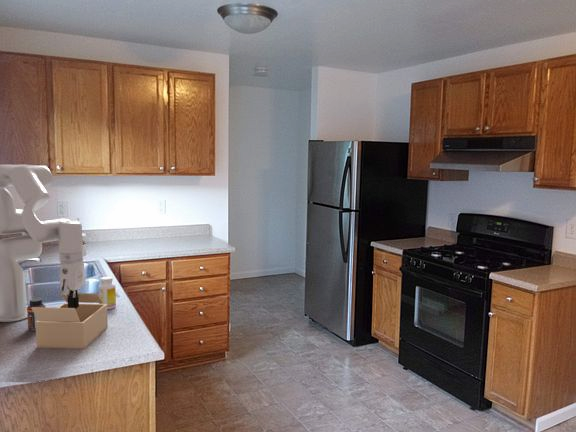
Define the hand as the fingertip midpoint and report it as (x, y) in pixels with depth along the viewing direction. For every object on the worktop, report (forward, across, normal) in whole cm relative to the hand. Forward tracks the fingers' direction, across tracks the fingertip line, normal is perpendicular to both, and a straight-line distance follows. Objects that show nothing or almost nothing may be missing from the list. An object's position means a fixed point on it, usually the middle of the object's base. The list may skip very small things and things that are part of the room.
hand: (73, 307), depth 166 cm
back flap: (-1, +7, 0) cm, 7 cm away
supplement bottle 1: (+11, +7, +17) cm, 21 cm away
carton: (+11, 0, 0) cm, 11 cm away
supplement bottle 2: (+11, +33, +1) cm, 34 cm away
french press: (+11, +130, +57) cm, 142 cm away
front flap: (-2, -12, 0) cm, 12 cm away
